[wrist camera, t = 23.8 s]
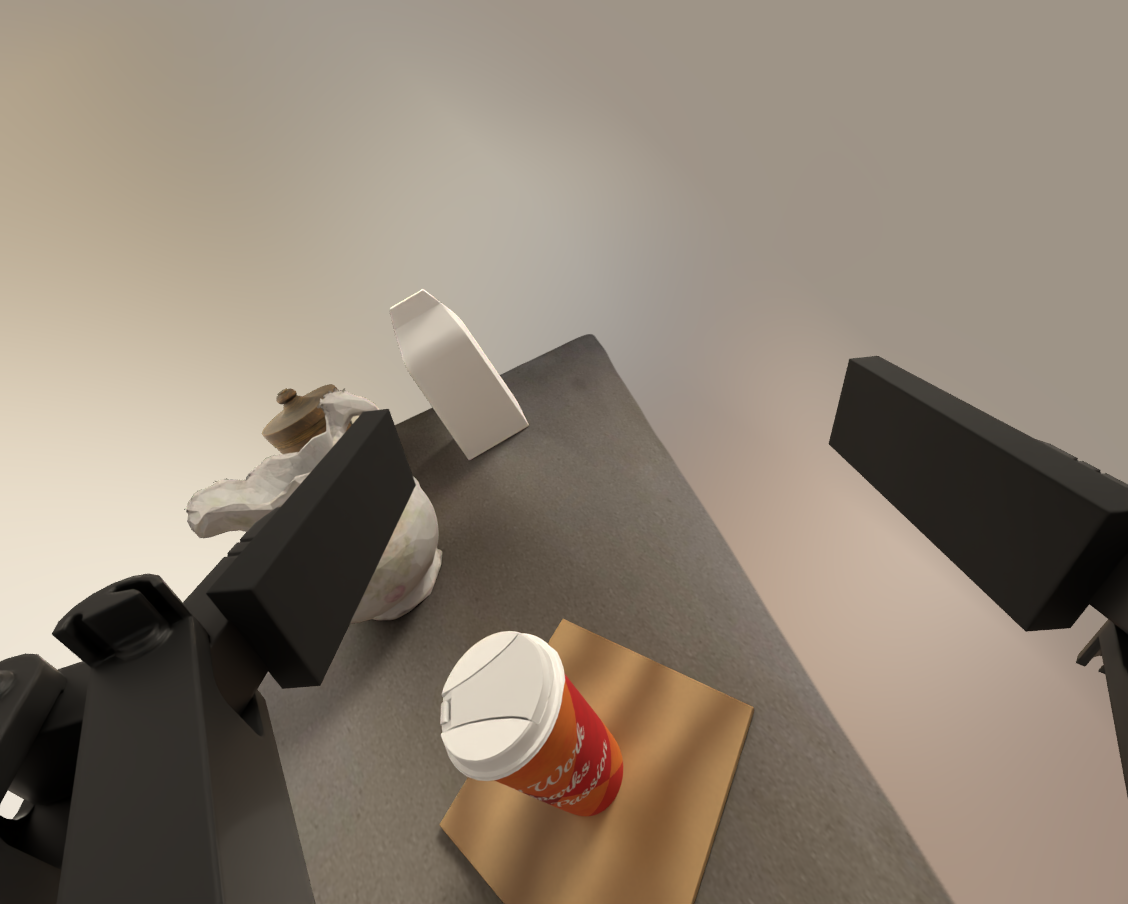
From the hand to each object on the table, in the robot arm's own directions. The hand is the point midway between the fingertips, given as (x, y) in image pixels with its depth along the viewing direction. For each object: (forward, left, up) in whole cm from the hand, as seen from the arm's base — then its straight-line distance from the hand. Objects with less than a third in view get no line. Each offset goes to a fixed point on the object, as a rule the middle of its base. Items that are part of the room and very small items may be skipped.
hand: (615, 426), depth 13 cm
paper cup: (+10, +7, -28) cm, 31 cm away
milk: (+55, -28, -29) cm, 68 cm away
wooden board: (+10, +7, -28) cm, 31 cm away
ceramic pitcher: (+45, +1, -29) cm, 54 cm away
